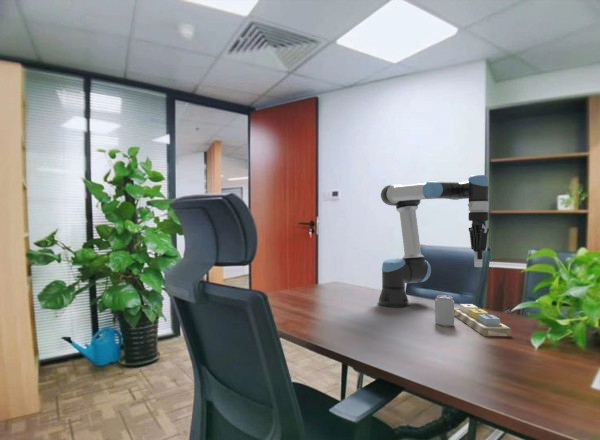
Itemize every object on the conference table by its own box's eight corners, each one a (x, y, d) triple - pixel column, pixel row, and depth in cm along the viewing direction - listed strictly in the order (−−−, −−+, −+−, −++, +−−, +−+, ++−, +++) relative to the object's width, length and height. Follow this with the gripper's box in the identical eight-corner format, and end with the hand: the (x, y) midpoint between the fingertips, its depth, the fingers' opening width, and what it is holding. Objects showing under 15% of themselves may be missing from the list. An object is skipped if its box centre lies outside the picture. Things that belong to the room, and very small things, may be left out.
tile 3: (478, 321, 137) (478, 314, 137) (492, 322, 137) (492, 314, 137) (485, 326, 132) (485, 318, 132) (499, 326, 132) (499, 318, 132)
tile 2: (468, 315, 146) (468, 308, 146) (481, 316, 146) (481, 308, 146) (474, 319, 141) (474, 312, 141) (488, 319, 140) (488, 312, 140)
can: (434, 325, 141) (434, 297, 141) (435, 320, 147) (436, 293, 147) (453, 328, 137) (453, 299, 137) (454, 323, 144) (454, 295, 144)
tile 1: (459, 310, 155) (459, 303, 155) (472, 310, 155) (472, 303, 155) (465, 313, 149) (465, 306, 149) (478, 314, 149) (478, 306, 149)
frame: (451, 313, 158) (451, 307, 158) (473, 314, 158) (473, 307, 158) (484, 335, 128) (484, 328, 128) (510, 336, 128) (510, 328, 128)
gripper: (462, 212, 150) (462, 264, 150) (476, 211, 137) (476, 269, 137) (479, 212, 150) (479, 264, 150) (495, 211, 137) (495, 269, 137)
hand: (478, 266), depth 143 cm, fingers closed
